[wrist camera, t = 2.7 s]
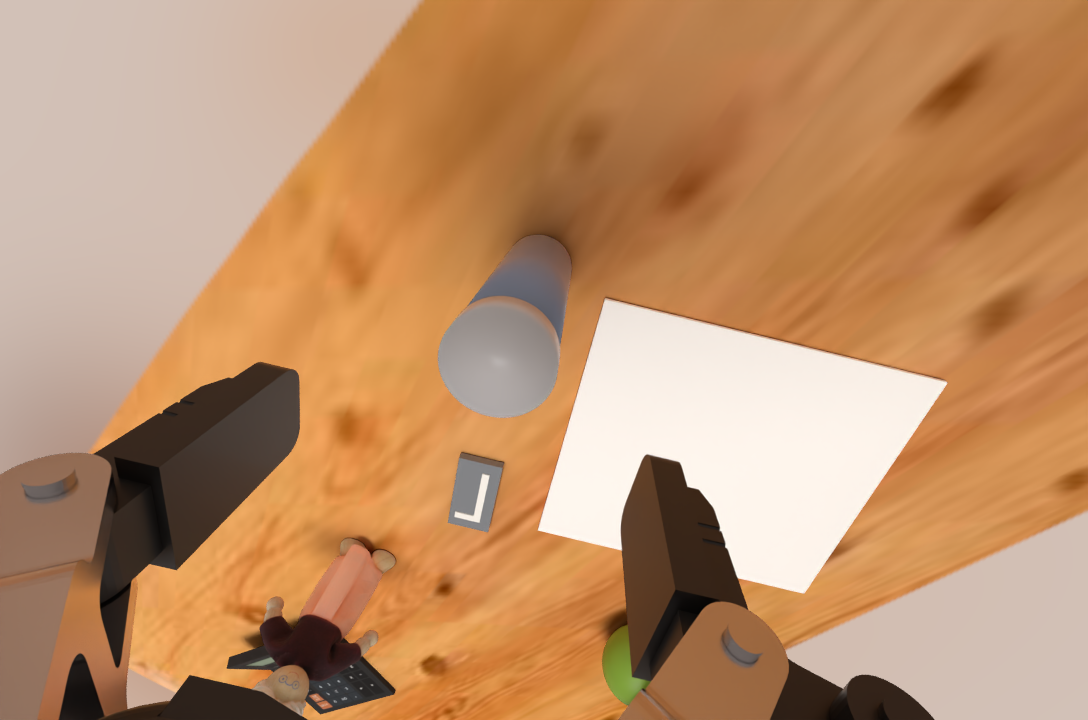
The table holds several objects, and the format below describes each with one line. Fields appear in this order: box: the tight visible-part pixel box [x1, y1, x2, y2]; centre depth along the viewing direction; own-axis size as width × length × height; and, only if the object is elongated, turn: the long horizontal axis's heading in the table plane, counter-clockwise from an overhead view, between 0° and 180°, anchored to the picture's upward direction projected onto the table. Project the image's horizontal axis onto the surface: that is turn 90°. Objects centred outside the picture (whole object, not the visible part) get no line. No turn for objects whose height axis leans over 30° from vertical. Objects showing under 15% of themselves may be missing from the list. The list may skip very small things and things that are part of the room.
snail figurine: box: [602, 625, 651, 706], centre depth 33 cm, size 5×6×12 cm
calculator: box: [227, 638, 396, 714], centre depth 43 cm, size 9×12×3 cm
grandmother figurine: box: [253, 538, 396, 716], centre depth 32 cm, size 8×4×13 cm, turn 76°
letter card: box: [448, 453, 504, 532], centre depth 33 cm, size 6×3×1 cm, turn 168°
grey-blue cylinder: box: [438, 235, 572, 418], centre depth 20 cm, size 4×4×13 cm
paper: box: [538, 298, 948, 594], centre depth 31 cm, size 18×20×1 cm
